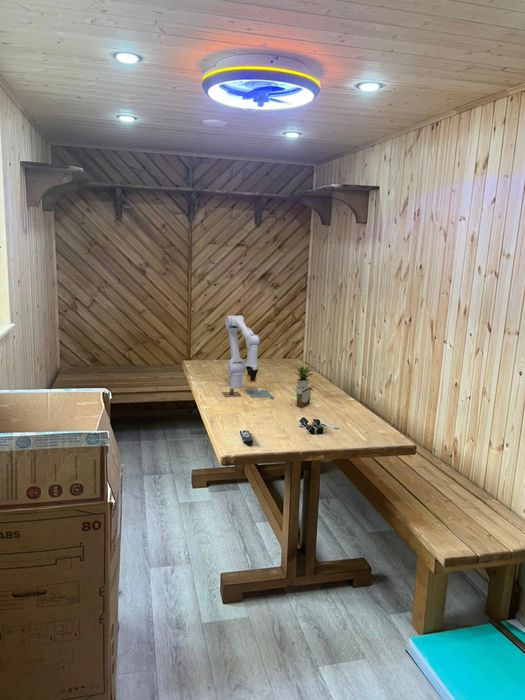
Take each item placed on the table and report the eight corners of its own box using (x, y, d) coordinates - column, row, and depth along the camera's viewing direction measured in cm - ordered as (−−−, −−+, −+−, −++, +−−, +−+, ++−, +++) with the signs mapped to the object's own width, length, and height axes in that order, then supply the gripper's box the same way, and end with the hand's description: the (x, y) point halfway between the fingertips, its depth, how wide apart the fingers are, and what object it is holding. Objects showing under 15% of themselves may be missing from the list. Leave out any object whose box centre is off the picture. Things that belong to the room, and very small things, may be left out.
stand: (221, 394, 315) (221, 386, 314) (238, 393, 317) (238, 386, 316) (224, 399, 303) (224, 391, 302) (242, 398, 305) (242, 391, 305)
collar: (245, 380, 313) (245, 373, 312) (255, 380, 314) (255, 373, 314) (247, 382, 308) (247, 375, 307) (257, 382, 309) (257, 375, 308)
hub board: (244, 392, 321) (245, 384, 320) (266, 391, 324) (266, 384, 323) (251, 400, 304) (251, 392, 303) (273, 399, 307) (274, 391, 306)
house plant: (311, 393, 322) (312, 366, 320) (288, 391, 327) (289, 364, 324) (316, 388, 336) (318, 362, 333) (295, 386, 340) (296, 360, 337)
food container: (300, 402, 303) (301, 384, 301) (310, 404, 300) (311, 386, 298) (290, 406, 292) (291, 388, 291) (300, 408, 289) (301, 390, 287)
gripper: (243, 354, 315) (242, 377, 317) (247, 358, 301) (247, 382, 303) (254, 354, 316) (254, 377, 319) (260, 358, 302) (259, 382, 305)
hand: (251, 379), depth 311 cm, fingers closed on collar, 5 cm apart
